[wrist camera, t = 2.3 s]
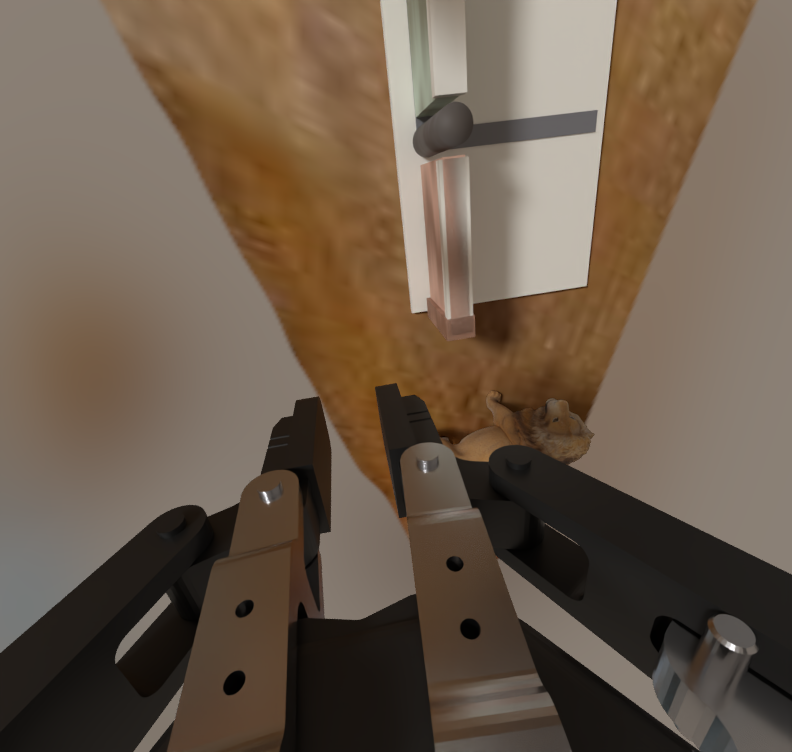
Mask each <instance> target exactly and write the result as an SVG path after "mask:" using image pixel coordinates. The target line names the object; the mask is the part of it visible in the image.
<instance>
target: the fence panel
mask: <svg viewBox="0 0 792 752" xmlns="http://www.w3.org/2000/svg"><path fill="white" fill-rule="evenodd" d="M420 167H421V180H422V193H423V206H424V219H425V232H426V245H427V258H428V271H429V285H430V298H427V310H428V317H429V318H430V320H431V321H432V322H433V323H434V325H435V326H436V327H437V328H438V330H439V331H440V332H441V334H442V335H443V336H444V337H445V339H446V340H447V341H452V340H458V339H464V338H470V337H475V315H474V314H473V289H472V251H471V213H470V175H469V156H468V157H465V155H458V156H449V157H442V158H439V159H436V160H434V161H431V162H428V163H425V164H423V165H420Z"/></svg>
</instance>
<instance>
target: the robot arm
mask: <svg viewBox="0 0 792 752" xmlns="http://www.w3.org/2000/svg"><path fill="white" fill-rule="evenodd" d="M375 390H376V397H377V403H378V409H379V416H380V422H381V428H382V434H383V440H384V445H385V450H386V455H387V460H388V465H389V470H390V475H391V480H392V485H393V490H394V495H395V500H396V504H397V509H398V514H399V518H402V517H407V523H408V531H409V539H410V548H411V555H412V563H413V571H414V580H415V588H416V594H414V595H410V596H408V597H406V598H404V599H402V600H400V601H398V602H396V603H394V604H392V605H390V606H388V607H386V608H384V609H382V610H380V611H378V612H376V613H374V614H372V615H370V616H368V617H366V618H364V619H361V620H342V619H325V618H324V600H323V582H322V564H321V554H320V551H319V544H320V534H321V533H326V532H331V446H330V439H329V434H328V430H327V426H326V421H325V417H324V413H323V408H322V404H321V400H320V398H319V397H313V398H307V399H301V400H296V403H295V408H294V414H293V416H290V417H284V418H281V420H280V421H279V422H278V423H277V424H276V425H275V426H274V427H273V430H272V434H271V438H270V439H271V440H270V441H269V445H268V449H267V452H266V456H265V460H264V464H263V468H262V471H261V475H260V476H258V477H256V478H255V479H253V480H252V481H251V482H250V483H249V484H248V485H247V486H246V487H245V488H244V490H243V492H242V494H241V498H240V502H239V503H238V504H236V505H234V506H232V507H230V508H227V509H225V510H223V511H220V512H218V513H215V514H213V515H211V516H208V517H207V515H206V513H205V511H204V510H203V508H201V507H199V506H196V505H186V506H181V507H177V508H174V509H172V510H170V511H168V512H166V513H164V514H162V515H160V516H159V517H157V518H156V519H155V520H153V521H152V522H151V523H150V524H149V525H147V527H145V528H144V529H143V530H142V531H141V532H139V533H138V534H137V535H136V536H135V537H134V538H133V539H131V540H130V541H129V542H128V543H127V544H126V545H124V546H123V547H122V548H121V549H120V550H119V551H118V552H116V553H115V554H114V555H113V556H112V557H111V558H109V559H108V560H107V561H106V562H105V563H104V564H103V565H101V566H100V567H99V568H98V569H97V570H96V571H94V572H93V573H92V574H91V575H90V576H89V577H88V578H86V579H85V580H84V581H83V582H82V583H81V584H80V585H78V586H77V587H76V588H75V589H74V590H73V591H72V592H70V593H69V594H68V595H67V596H66V597H65V598H63V599H62V600H61V601H60V602H59V603H58V604H56V605H55V606H54V607H53V608H52V609H51V610H50V611H48V612H47V613H46V614H45V615H44V616H43V617H41V618H40V619H39V620H38V621H37V622H36V623H35V624H34V625H32V626H31V627H30V628H29V629H28V630H27V631H25V632H24V633H23V634H22V635H21V636H20V637H18V638H17V639H16V640H15V641H14V642H13V643H11V644H10V645H9V646H8V647H7V648H6V649H5V650H4V651H2V652H1V653H0V752H133V751H134V750H135V748H136V747H137V746H138V745H139V743H140V742H141V740H142V739H143V738H144V736H145V735H146V734H147V732H148V731H149V730H150V728H151V727H152V725H153V724H154V723H155V721H156V720H157V719H158V717H159V716H160V714H161V713H162V712H163V710H164V709H165V708H166V706H167V705H168V703H169V702H170V701H171V699H172V698H173V697H174V695H175V694H176V693H177V691H178V690H179V688H180V687H181V686H182V684H183V683H184V684H183V688H182V692H181V696H180V700H179V704H178V708H177V712H176V716H175V720H174V721H173V722H172V724H171V725H170V726H169V728H168V729H167V730H166V731H165V733H164V734H163V735H162V736H161V738H160V739H159V740H158V741H157V743H156V744H155V745H154V746H153V748H152V749H151V750H150V752H792V575H791V574H789V573H787V572H785V571H783V570H781V569H779V568H777V567H775V566H773V565H771V564H769V563H767V562H765V561H763V560H760V559H759V558H757V557H755V556H753V555H750V554H748V553H746V552H744V551H742V550H740V549H738V548H736V547H734V546H732V545H730V544H728V543H726V542H724V541H722V540H720V539H717V538H716V537H714V536H712V535H710V534H708V533H705V532H703V531H701V530H699V529H697V528H695V527H693V526H691V525H689V524H687V523H685V522H683V521H681V520H679V519H677V518H675V517H672V516H671V515H669V514H667V513H665V512H662V511H660V510H658V509H656V508H654V507H652V506H650V505H648V504H646V503H644V502H642V501H640V500H638V499H636V498H634V497H632V496H630V495H628V494H625V493H623V492H621V491H619V490H617V489H615V488H613V487H611V486H609V485H607V484H605V483H603V482H601V481H599V480H597V479H595V478H593V477H591V476H589V475H587V474H585V473H583V472H580V471H579V470H576V469H574V468H572V467H570V466H568V465H566V464H564V463H562V462H560V461H558V460H556V459H554V458H552V457H550V456H548V455H546V454H544V453H542V452H540V451H538V450H536V449H533V448H531V447H527V446H523V445H507V446H503V447H500V448H498V449H496V450H495V451H493V452H492V454H491V455H490V457H489V462H485V461H468V460H463V459H460V458H457V457H455V456H454V453H453V452H452V451H451V449H449V448H448V447H446V446H444V445H443V443H442V441H441V439H440V436H439V434H438V432H437V430H436V427H435V425H434V423H433V420H432V419H431V416H430V414H429V412H428V409H427V407H426V404H425V402H424V401H423V400H421V399H420V398H419V397H417V396H416V395H411V396H405V397H401V395H400V392H399V389H398V386H397V384H396V383H395V384H389V385H383V386H377V387H375ZM545 523H547V524H548V525H550V526H551V527H553V528H555V529H556V530H558V531H559V532H561V533H562V534H564V535H565V536H567V537H569V538H570V539H572V540H573V541H575V542H576V543H577V544H578V545H577V544H576V543H574V542H573V541H571V540H569V539H568V538H566V537H565V536H563V535H562V534H560V533H558V532H556V531H555V530H554V529H552V528H551V527H549V526H548V525H546V524H545ZM496 556H497V557H498V558H499V559H501V560H502V561H503V562H505V563H506V564H507V565H508V566H510V567H511V568H512V569H513V570H515V571H516V572H517V573H518V574H520V575H521V576H522V577H524V578H525V579H526V580H527V581H529V582H530V583H531V584H532V585H534V586H535V587H536V588H537V589H539V590H540V591H541V592H542V593H544V594H545V595H546V596H547V597H549V598H550V599H551V600H552V601H554V602H555V603H556V604H557V605H559V606H560V607H561V608H563V609H564V610H565V611H566V612H568V613H569V614H570V615H571V616H573V617H574V618H575V619H576V620H578V621H579V622H580V623H582V624H583V625H584V626H585V627H586V628H588V629H589V630H590V631H592V632H593V633H594V634H595V635H597V636H598V637H599V638H601V639H602V640H603V641H604V642H606V643H607V644H608V645H609V646H611V647H612V648H613V649H614V650H616V651H617V652H618V653H619V654H621V655H622V656H623V657H624V658H626V659H627V660H628V661H629V662H631V663H632V664H633V665H635V666H636V667H637V668H638V669H639V670H641V671H642V672H643V673H645V674H646V675H647V676H648V677H650V678H651V679H652V680H653V686H654V690H655V693H656V695H657V698H658V700H659V702H660V704H661V706H662V707H663V709H664V710H665V712H666V713H667V715H668V716H669V717H670V718H671V719H672V721H673V722H674V724H675V726H676V728H677V729H678V730H679V732H680V733H681V734H682V735H683V736H685V737H686V738H687V739H688V740H690V741H692V742H693V743H694V744H695V745H696V746H697V748H698V749H699V750H700V751H699V750H697V749H696V748H695V747H693V746H692V745H691V744H689V743H688V742H687V741H685V740H684V739H683V738H681V737H680V736H678V735H677V734H676V733H674V732H673V731H672V730H670V729H669V728H668V727H666V726H665V725H664V724H662V723H661V722H659V721H658V720H657V719H655V718H654V717H653V716H651V715H650V714H649V713H647V712H646V711H645V710H643V709H642V708H640V707H639V706H638V705H636V704H635V703H634V702H632V701H631V700H629V699H628V698H627V697H626V696H624V695H623V694H622V693H620V692H619V691H618V690H616V689H615V688H613V687H612V686H611V685H609V684H608V683H607V682H605V681H604V680H603V679H601V678H600V677H599V676H597V675H596V674H594V673H593V672H592V671H590V670H589V669H588V668H586V667H585V666H584V665H582V664H581V663H580V662H578V661H577V660H575V659H574V658H573V657H572V656H570V655H569V654H567V653H566V652H565V651H563V650H562V649H561V648H559V647H558V646H556V645H555V644H554V643H552V642H551V641H550V640H548V639H547V638H546V637H544V636H543V635H542V634H540V633H539V632H538V631H536V630H535V629H533V628H532V627H531V626H529V625H528V624H527V623H525V622H524V621H522V620H521V619H519V618H518V617H517V615H516V612H515V609H514V606H513V603H512V600H511V598H510V595H509V592H508V589H507V586H506V584H505V581H504V578H503V575H502V573H501V570H500V567H499V564H498V561H497V558H496ZM165 593H167V595H168V597H169V598H170V600H171V603H170V604H169V605H168V607H167V608H166V609H165V610H164V611H163V612H162V613H161V615H160V616H159V617H158V618H157V619H156V620H155V621H154V622H153V623H152V624H151V626H150V627H149V628H148V629H147V630H146V631H145V632H144V633H143V635H142V636H141V637H140V638H139V639H138V640H137V641H136V642H135V644H134V645H133V646H132V647H131V648H130V649H129V650H128V651H127V652H126V654H125V655H124V656H123V657H122V658H121V659H120V660H119V661H118V662H117V663H116V664H115V655H116V651H117V649H118V646H119V644H120V643H121V641H122V640H123V638H124V637H125V636H126V635H127V634H128V632H129V631H130V630H131V629H132V628H133V627H134V626H135V625H136V624H137V623H138V622H139V620H140V619H141V618H142V617H143V616H144V615H145V614H146V613H147V612H148V611H149V610H150V609H151V608H152V607H153V606H154V604H155V603H156V602H157V601H158V600H159V599H160V598H161V597H162V596H163V594H165Z"/></svg>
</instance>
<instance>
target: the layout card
mask: <svg viewBox="0 0 792 752" xmlns="http://www.w3.org/2000/svg"><path fill="white" fill-rule="evenodd" d="M616 4H617V0H465V25H466V62H467V93H466V94H464V95H460V96H458V97H457V98H456V99H455V100H453V101H452V102H461V103H463V104H465V105H466V106H467V107H468V108H469V109H470V111H471V113H472V116H473V129H472V133H471V135H470V137H469V138H468V139H467V140H466V141H465V142H464V143H463V144H461V145H458V146H456V147H453V148H451V149H448V150H446V151H444V152H441V153H439V154H436V155H434V156H431V157H428V158H425V157H421V156H420V155H418V154H417V153H416V151H415V150H414V147H413V136H414V133H415V131H416V130H417V129H418V128H419V127H420V126H421V125H422V124H424V123H425V122H426V121H427V120H429V119H430V118H431V117H432V116H426V117H417V118H416V114H415V102H414V89H413V76H412V63H411V50H410V37H409V27H408V25H409V24H408V14H407V12H408V11H407V1H406V0H380V5H381V15H382V25H383V35H384V45H385V54H386V64H387V74H388V84H389V94H390V104H391V114H392V124H393V134H394V144H395V154H396V164H397V174H398V184H399V194H400V204H401V214H402V223H403V233H404V243H405V253H406V263H407V273H408V283H409V293H410V303H411V312H412V313H417V312H424V311H428V310H427V298H430V285H429V271H428V258H427V245H426V232H425V219H424V206H423V193H422V180H421V167H420V165H423V164H425V163H428V162H431V161H434V160H436V159H439V158H442V157H449V156H458V155H465V157H468V156H469V175H470V213H471V251H472V289H473V304H475V303H481V302H488V301H494V300H500V299H507V298H513V297H520V296H526V295H532V294H539V293H545V292H551V291H558V290H564V289H571V288H577V287H583V286H587V277H588V268H589V258H590V249H591V240H592V230H593V221H594V211H595V202H596V193H597V183H598V174H599V164H600V155H601V145H602V136H603V127H604V117H605V108H606V98H607V89H608V80H609V70H610V61H611V51H612V42H613V33H614V23H615V14H616Z"/></svg>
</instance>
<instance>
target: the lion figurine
mask: <svg viewBox="0 0 792 752" xmlns="http://www.w3.org/2000/svg"><path fill="white" fill-rule="evenodd" d="M500 400H501V394H500V393H498V392H497V391H491V392H490V393H489V394H488V396H487V398H486V402H487V407H488V408H489V409H490V410H491V411H492V413H493V416H494V424H495V426H491V427H487V428H484V429H480V430H478V431H475V432H473V433H471V434H469V435H467V436H466V437H464V438H463V439H462V440H461V441H460V443H459V444H451V443H450V441H449V439H448V438H447V437H442V438H440V439H441V441H442V443H443V445H444V446H446V447H448V448H449V449H451V451H452V452H453V453H454V456H455V457H457V458H460V459H463V460H468V461H485V462H489V457H490V455H491V454H492V452H493V451H495V450H496V449H498V448H500V447H503V446H507V445H523V446H527V447H531V448H533V449H536V450H538V451H540V452H542V453H544V454H546V455H548V456H550V457H552V458H554V459H556V460H558V461H560V462H562V463H564V464H570V463H572V462H575V461H576V460H578V459H580V458H581V457H582V456H583V455H584V454H586V453H587V451H588V449H589V446H590V443H591V441H590V439H591V438H592V437H593V436H594V434H593V433H591V432H590V431H589V430H588V429H587V426H586V425H585V424H584V423H583V421H582V420H581V419H580V417H579V416H578V415H577V414H574V413H572V412H570V411H569V405H568V402H567V401H565V400H556V399H553V398H552V399H548V400H547V401H546V406H542V407H540V408H538V409H537V410H533V409H532V408H527V409H523V410H522V411H517V412H515V413H513V412H512V411H510V410H509V409H508V408H506V407H505V406H503V405H501V404H499V403H498V402H500Z"/></svg>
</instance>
